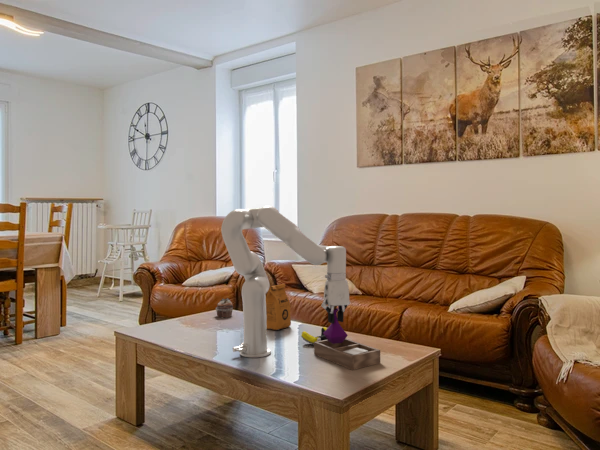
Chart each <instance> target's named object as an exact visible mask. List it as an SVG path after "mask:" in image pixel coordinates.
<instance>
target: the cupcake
mask: <svg viewBox="0 0 600 450" xmlns="http://www.w3.org/2000/svg"><path fill="white" fill-rule="evenodd" d="M233 309H234V304H233V302H232V301H231V300H230V298H228V297H227V298H222V299H221V300H220V301H219V302H218V303H217V305H216V307H215V312H216V314H217V318H221V317H225V318H231V317H232V314H233Z"/></svg>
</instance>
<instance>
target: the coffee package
mask: <svg viewBox="0 0 600 450" xmlns="http://www.w3.org/2000/svg"><path fill="white" fill-rule="evenodd" d="M285 287H286V284H285V283H282V284H277V285H270V287H269V290H268V292H267V293H266V295H265V298H266V315H267V330H275V331H277V330H282V329H286V328H289V327H291V325H292V317H291V310H292V309H291V302H290V300H289V299H290V298H289V297H288V295H287V293H286V289H285Z"/></svg>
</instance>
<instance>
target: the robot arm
mask: <svg viewBox="0 0 600 450" xmlns="http://www.w3.org/2000/svg"><path fill="white" fill-rule="evenodd" d="M258 228H259V229H260V228H264V229H266V230H267V231H268V232H270V234H272V235H274V236H275V237H276V238H278V239H279V240H281V242H283V243H284V245H286V246H288V247H289V248H290V249H291V250H292V251H293V252H295V253H296V254H297V255H299V256H300V257H301V258H303V259H304V260H305V261H307V262H308V263H309V264H311V265H314V266H321V265H322V264H324V263H326V266H327V267H326V274H324V277H325V279H326V280H325V283H324V287H323V288H324V290H323V301H322V303H321V307H322V308H323V309H324V310H325V311H326V313H327V321H328V323H330V324H331V323H334V313H333V310H334V306H337V308H338V311H337V313H336V314H337V320H338V322H339V323H343V322H344V312H345V311H346V309H347V307H348V306H350V305H351V301H350V287H349V281H348V279H346V277H347V274H346V272H347V249H346V247H345V246H342V245H341V246H340V245H331V246H328V245H322V244H317V243H315V242H314V241H312V240H311V238H309V237H307V236H306V235H305V234H304V233H303V232H302V230H301V229H300V228H299V226H297V224H295V223H294V222H292V221H291V220H289V219H288V218H287V217H286V216H284V215H283V214H282V213H280V211H279V209H277V208H276V207H274V206H271V205H265V206H261V207H256V208H247V209H246V208H245V209H244V208H237V209H233V210H231V211H230V212H229V213H227V215H226V216H225V217H224V219H223V221H222V223H221V228H220V229H221V230H220V231H221V236H222V240H223V242H224V245H225V247H226V250H227V252H228V255H229V257H230V260H231V262H232V265H233V267H234V269H235V272H236V273H237V274H238V275H241V276H242V277H243V278H244V283H242V287H241V298H242V310H243V311H242V317H243V319H242V322H243V323H242V324H243V342H241V344H240V345H239V346H232V352H233V353H235V352H238V353H239V354H240V356H241V357H245V358H252V359H253V358H262V357H263V358H264V357H267V356H269V355H270V354H271V351H272V350H271V348H269V347H268V334H267V333H268V332H267V330H268V329H267V315H266V295H267V293H268V291H269V288H270V286H271V285H270V284H271V283H270V280H269V277H268V275H267V273H266V270H265V268H264V265H263V263H262V260H261V258H260V256H259V255H258V254H257V253H256V252H254V251H251V250H250V247H249V245H248V242H247V240H246V238H245V236H244V234H243V230H249V229H258ZM330 307H331V309H330Z"/></svg>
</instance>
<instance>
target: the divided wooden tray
mask: <svg viewBox="0 0 600 450" xmlns="http://www.w3.org/2000/svg"><path fill="white" fill-rule="evenodd" d="M354 348H360V349H364V350H368V352H365V353H361V354H356V355H350V354H347V353H345V352H343V351H347V350H350V349H354ZM313 354H314V356H317V357H320V358H322V359H325V360H327V361H329V362H332V363H334V364H337V365H339V366H341V367H342V368H346V369H348V370H351V371H353V370H358V369H362V368H365V367H369V366H370V367H371V366H374V365H378V364H381V349H378V348H375V347H373V346H370V345H366V344H363V343H360V342H357V341H354V340H353V339H352V340H351V339H348V338H347V337H346V338H345V340H344V341H343V342H342V343H337V344H332V343H331V342H329V341H328V340H323V341H317V342H314V346H313Z"/></svg>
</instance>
